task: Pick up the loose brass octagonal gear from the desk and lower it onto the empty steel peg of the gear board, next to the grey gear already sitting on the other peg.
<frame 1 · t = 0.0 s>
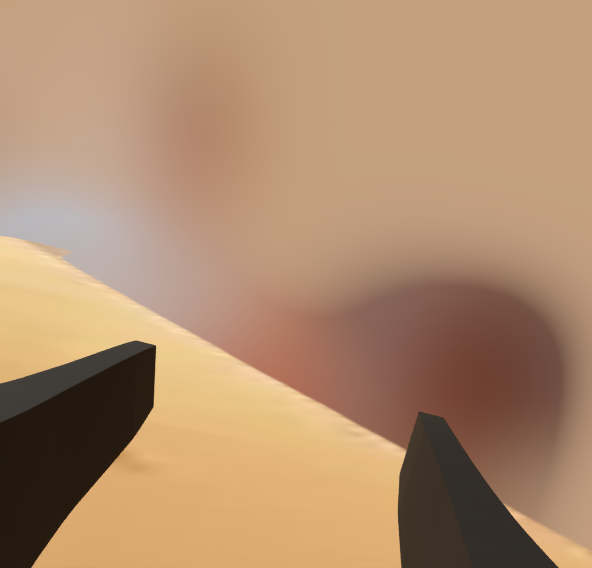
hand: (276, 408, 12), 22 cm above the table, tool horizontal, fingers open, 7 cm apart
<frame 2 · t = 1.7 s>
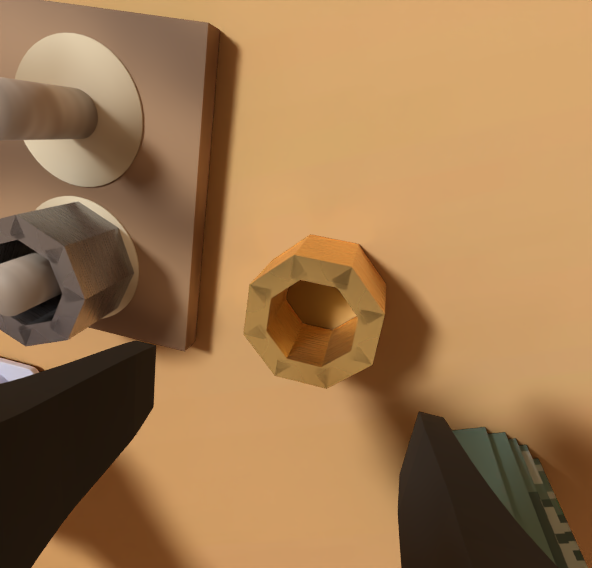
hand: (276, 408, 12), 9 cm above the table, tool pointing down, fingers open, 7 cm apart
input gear: (324, 293, 20), on the table
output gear: (79, 260, 20), resting on gear board
gear board: (96, 182, 20), on the table
can: (473, 478, 22), on the table
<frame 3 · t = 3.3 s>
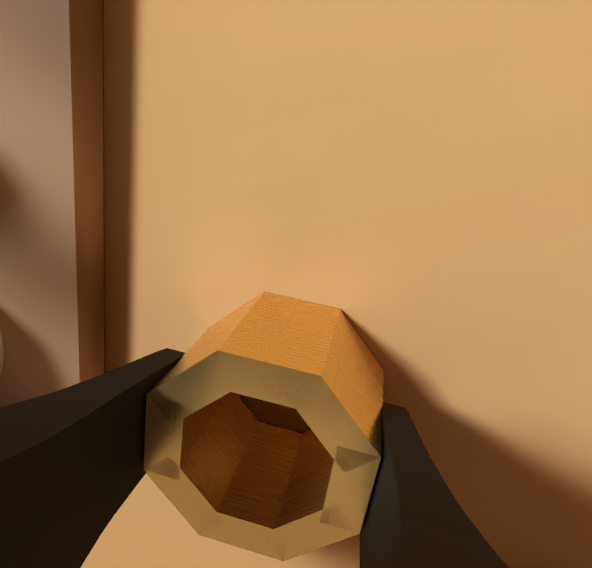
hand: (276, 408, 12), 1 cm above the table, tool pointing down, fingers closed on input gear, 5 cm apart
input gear: (288, 380, 13), on the table, touching gripper
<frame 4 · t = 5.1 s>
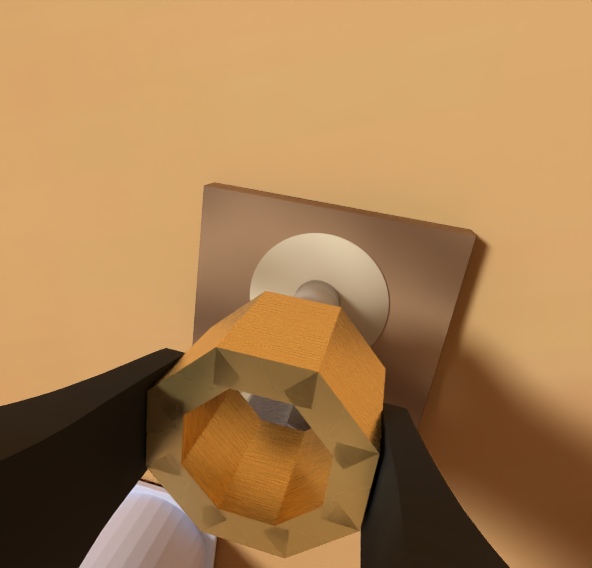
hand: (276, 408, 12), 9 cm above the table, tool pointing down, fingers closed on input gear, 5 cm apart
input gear: (290, 379, 13), point 7 cm above the table, touching gripper
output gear: (294, 425, 21), resting on gear board
gear board: (311, 349, 21), on the table
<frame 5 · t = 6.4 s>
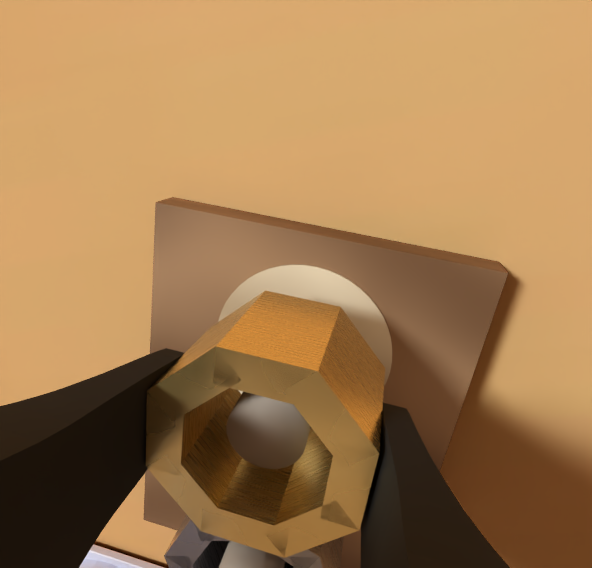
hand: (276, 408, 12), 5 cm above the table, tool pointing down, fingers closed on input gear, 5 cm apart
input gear: (290, 378, 13), point 3 cm above the table, touching gripper
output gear: (274, 496, 17), resting on gear board
gear board: (295, 402, 17), on the table
when the fingers open (5 cm above the table, at t = 7.1 s): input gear drops 2 cm, resting on gear board.
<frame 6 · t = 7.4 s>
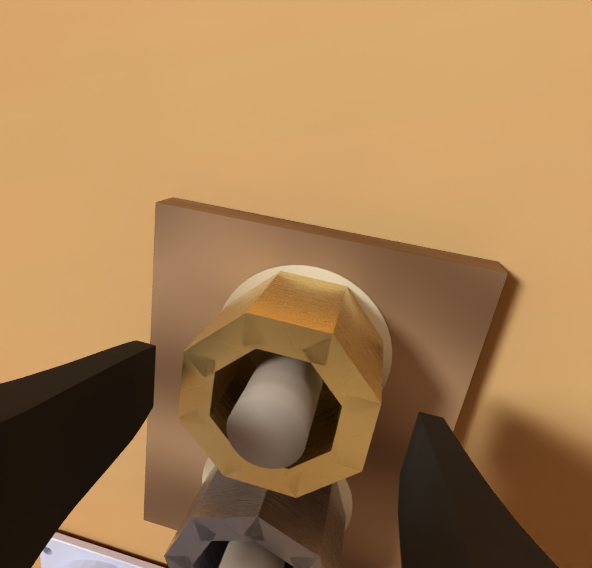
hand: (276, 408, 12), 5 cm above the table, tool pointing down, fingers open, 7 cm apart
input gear: (299, 349, 15), point 1 cm above the table, touching gear board
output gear: (274, 496, 17), resting on gear board
gear board: (295, 402, 17), on the table
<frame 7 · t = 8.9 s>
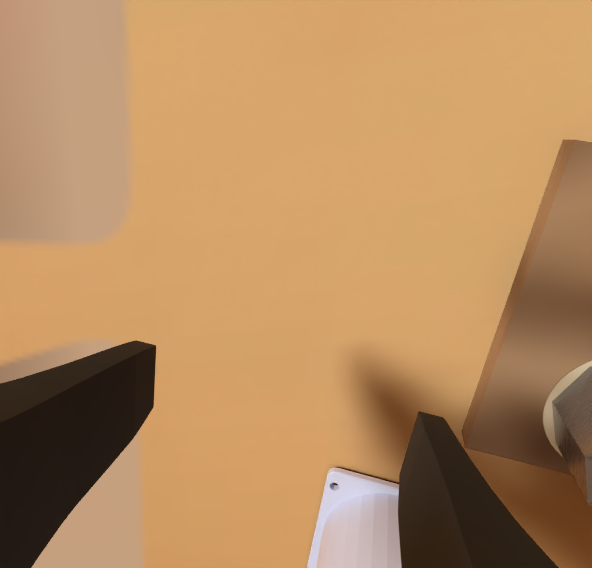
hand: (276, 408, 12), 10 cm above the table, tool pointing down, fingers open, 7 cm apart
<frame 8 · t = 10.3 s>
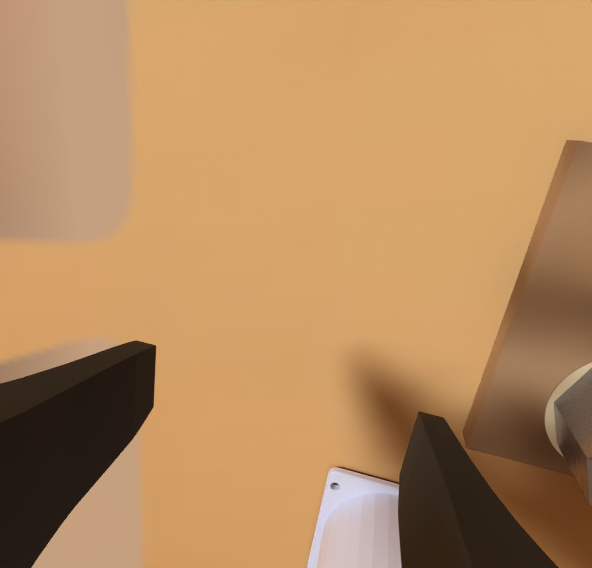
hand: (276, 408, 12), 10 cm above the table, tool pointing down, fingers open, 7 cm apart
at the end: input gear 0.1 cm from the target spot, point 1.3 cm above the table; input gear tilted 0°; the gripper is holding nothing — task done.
